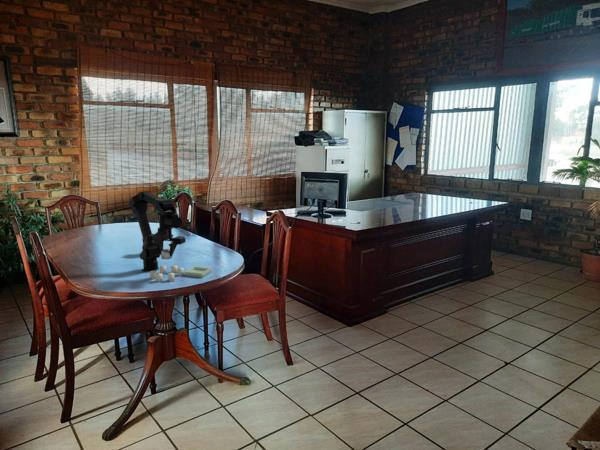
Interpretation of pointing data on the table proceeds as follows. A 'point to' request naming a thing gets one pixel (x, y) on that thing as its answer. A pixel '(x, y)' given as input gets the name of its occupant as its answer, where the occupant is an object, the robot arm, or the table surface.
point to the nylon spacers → (163, 270)
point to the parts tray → (198, 272)
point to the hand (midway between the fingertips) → (166, 255)
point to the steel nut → (165, 254)
